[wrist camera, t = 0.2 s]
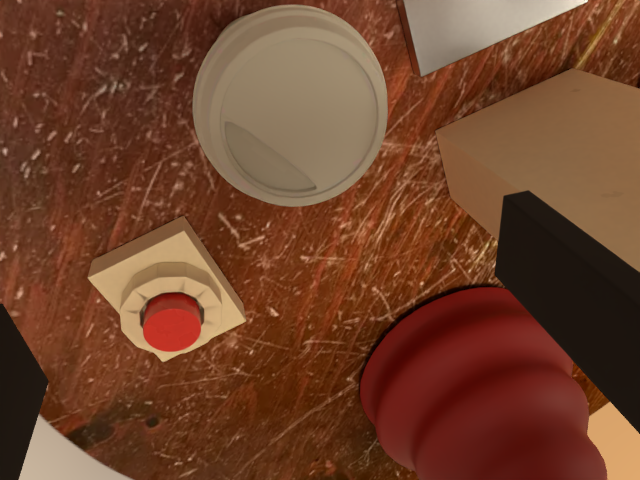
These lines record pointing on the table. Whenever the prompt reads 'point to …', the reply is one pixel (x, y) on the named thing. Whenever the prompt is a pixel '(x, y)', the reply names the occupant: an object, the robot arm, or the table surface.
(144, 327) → the red push button
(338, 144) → the coffee cup
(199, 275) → the control block
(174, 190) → the table surface
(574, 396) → the table lamp
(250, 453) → the table surface
